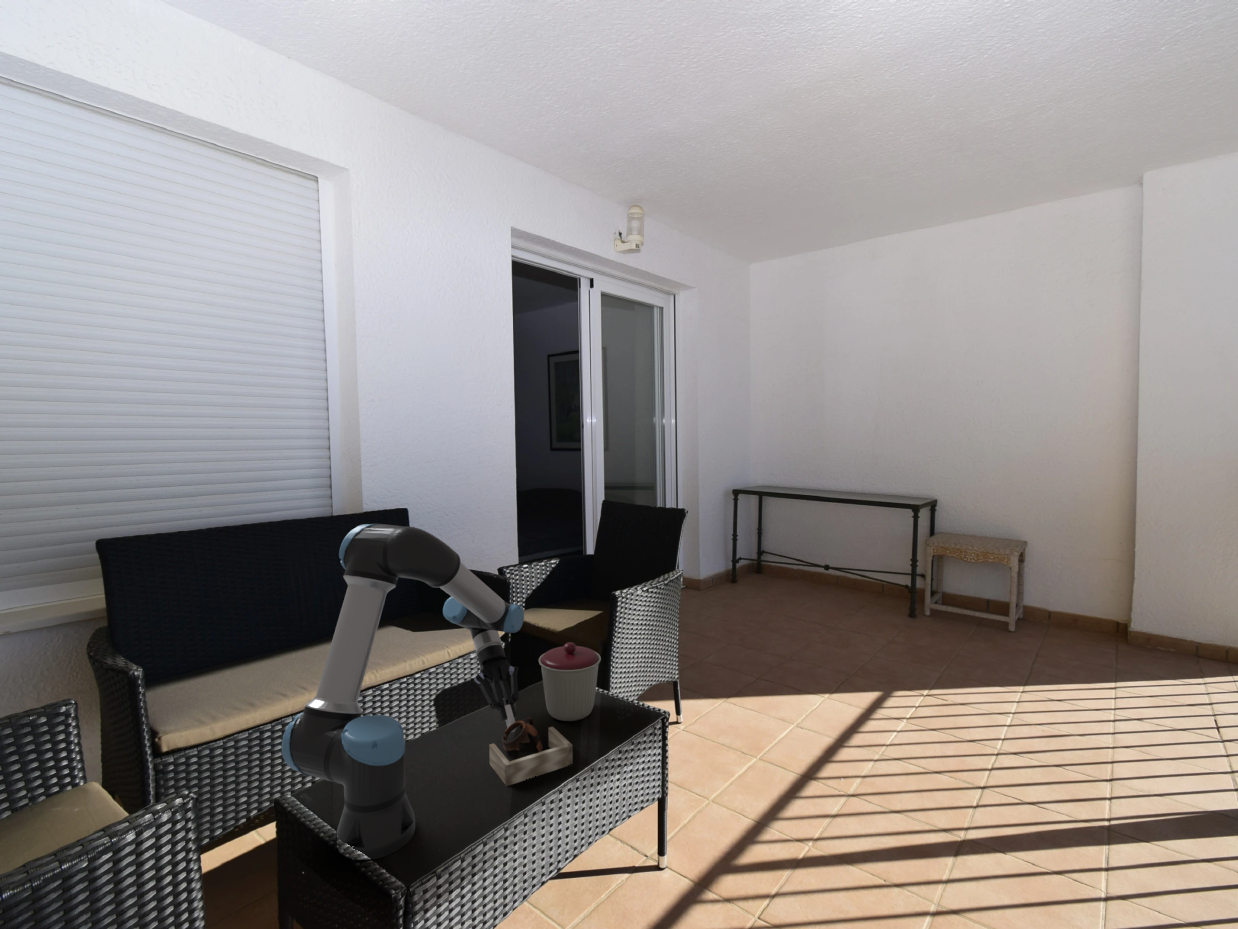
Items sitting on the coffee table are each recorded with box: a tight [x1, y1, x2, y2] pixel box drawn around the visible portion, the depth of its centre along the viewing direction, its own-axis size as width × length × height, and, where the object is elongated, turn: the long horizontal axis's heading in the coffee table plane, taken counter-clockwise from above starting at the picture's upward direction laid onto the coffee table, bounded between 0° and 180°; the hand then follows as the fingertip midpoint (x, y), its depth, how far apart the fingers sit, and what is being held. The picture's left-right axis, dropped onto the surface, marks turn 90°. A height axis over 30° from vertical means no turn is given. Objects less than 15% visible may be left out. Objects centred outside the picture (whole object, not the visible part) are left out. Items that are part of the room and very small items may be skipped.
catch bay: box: [488, 726, 574, 787], centre depth 154 cm, size 17×11×5 cm, turn 122°
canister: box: [538, 641, 602, 722], centre depth 181 cm, size 18×18×21 cm
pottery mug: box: [501, 716, 543, 753], centre depth 162 cm, size 12×10×8 cm
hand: (512, 730), depth 165 cm, fingers closed
